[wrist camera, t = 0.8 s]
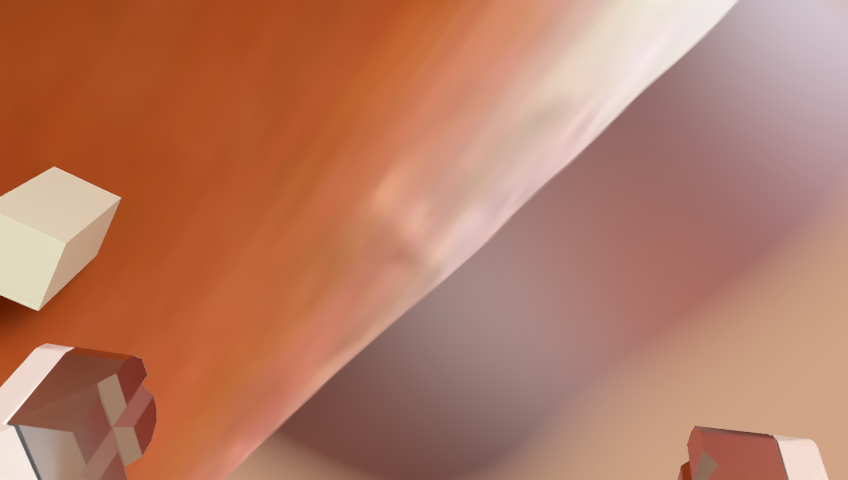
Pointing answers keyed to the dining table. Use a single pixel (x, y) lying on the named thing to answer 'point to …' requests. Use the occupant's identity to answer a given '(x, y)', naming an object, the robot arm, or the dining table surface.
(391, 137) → the dining table surface
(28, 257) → the sage block marked
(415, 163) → the dining table surface
